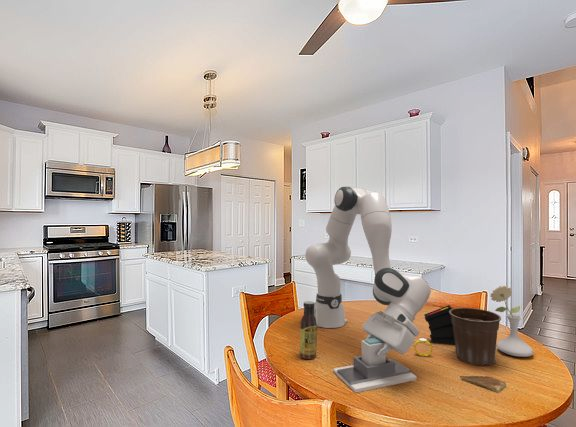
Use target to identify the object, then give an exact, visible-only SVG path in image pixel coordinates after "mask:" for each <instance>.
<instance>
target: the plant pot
mask: <svg viewBox="0 0 576 427" xmlns="http://www.w3.org/2000/svg"><path fill="white" fill-rule="evenodd" d="M449 313H450V315H451V321H452V324H453V331H454V339H455V345H454V347H455V355H456V358H458V359H460V361H462V362H464V363H467V364H471V365H474V366H481V367H483V366H484V365H487V366H493V364H495V363H496V351H497V350H496V349H497V346H496V345H497V339H498V331H499V330H500V329H499V328H500V321H501V320H502V316H501V315H500V314H498V313H496V312H493V311H490V310H486V309H481V308H474V307H473V308H472V307H455V308H452V309H451V310H450V311H449Z"/></svg>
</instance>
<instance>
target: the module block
mask: <svg viewBox="0 0 576 427" xmlns="http://www.w3.org/2000/svg"><path fill="white" fill-rule="evenodd" d="M360 342H361V356H362V362H364V363H365V364H366V365H368V366H373V365H378V364H384V363H386V358H387V356H386V355H387V354H384V356H383V357H382V358H380V357H378V356H377V355H376V352H377V350H378V349H379V350H381V349H382V348H383V347H384V344H385V343H384V342H383V341H382V340H380V339H379V338H377V337H376V338H370V339H367V338H364V339H363V340H361V341H360Z"/></svg>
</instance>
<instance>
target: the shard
mask: <svg viewBox="0 0 576 427" xmlns="http://www.w3.org/2000/svg"><path fill="white" fill-rule="evenodd" d="M459 378H460V379H461V381H464V382H466V383H470V384H474V385H477V386H480V387H482V388H484V389H488V390H490V391H493V392H495V393H500V392H501V391H502V390H503V389H504V388H505V387H506V385H507V382H506V381H504V380H502V379H498V378H495V377H493V376H483V375H476V376H475V375H473V376H472V375H471V376H469V375H467V376H463V375H462V376H461V375H460V376H459Z"/></svg>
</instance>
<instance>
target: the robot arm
mask: <svg viewBox="0 0 576 427" xmlns="http://www.w3.org/2000/svg"><path fill="white" fill-rule="evenodd" d="M333 201H334V202H333V203H334V206H333V209H332V211H331V213H330V216H329V219H328V221H327V225H326V228H325V231H326V233H327V235H328V236H329V237H328V241H327V242H321V243H319V242H318V243H315V244H313V245H310V246H308V247H307V249H306V251H305V259H306V262H307V264H308V265H309V266H310V267H312V269H313V270H314V272H315V276H316V282H317V293H316V295H315V302H314V305H315V306H314V316H315V318H316V323H317V328H318V327H319V328H325V329H333V328H334V329H335V328H340V327H341V328H342V327H344V326H345V323H347V322H348V319H347V318H346V316H345V307H344V306H345V305H344V304H343V303H342V302H343V301H342V300H343V297H342V293H341V292H342V290H341V285H342V284H341V278H340V276H339V275H338V274H336V273H335V270H334V266H335V265H341V264H344V263H345V262H348V261H349V260H350V258H351V254H352V251H351V248H350V245H349V244H348V243H349V242H348V241H349V235H350V232H351V230H352V228H353V224H354V222H355V220H356V217H357V215H360V220H361V225H362V229H363V232H364V236H365V238H366V240H367V244H368V247H369V250H370V253H371V257H372V265H373V269H374V279H373V280H374V281H373V287H372V295H373V298H374V299H375V300H376V301H377V302H378V304H381V305H383V306H387V307H386V308H385V309H384V311H382V310H381V311H380V310H379V311H378V312H374V313H373V314H371V315H370V316H369V317H368V319H367V320H366V321H365V322H364V323H363V324H362V327H361V328H362V330H363V332H365V333H366V334H367V336H366V339H370V338H376V337H377V338H379V339H380V340H382V341H383V342H384V343H385V344H384V347H383V348H382V349H381V350H379V349H378V350H377V352H376V355H377V356H378V357H380V358H382V357H383V356H384V354H386V355H387V354H389V353H390V352H392V350H395V352H398V353H399V354H401V355H403V354H406V353H407V352H408V351H409V349H410V348H411V346H412V345H413V344H414V343H415V342H414V341H416V340H415V339H416V337H418V336H419V335H420V333H421V332H420V330H419V328H418V327H417V326H416V325H415V324H414V320H415V318H416V316H417V314H418V312H420V311H421V310H422V309H423V308H424V307H425V305H426V303H427V302H428V300H429V298H430V296H431V294H432V292H431V291H432V289H431V286H430V285H429V283H428V282H427V281H426V280H425V279H424V277H422V276H420V275H418V274H409V273H403V272H400V271H398V270H396V269H394V268H392V267H391V261H390V254H389V253H390V252H389V251H390V242H391V238H392V229H393V228H392V218H391V214H390V209H389V207H388V203H387V201H386V199H385V197H384V196H383V195H382V194H381V193H380V192H377V191H372V190H369V189H365V188H358V187H351V186H341V187H339V189H337V191H336V192H335V195H334V200H333Z"/></svg>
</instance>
